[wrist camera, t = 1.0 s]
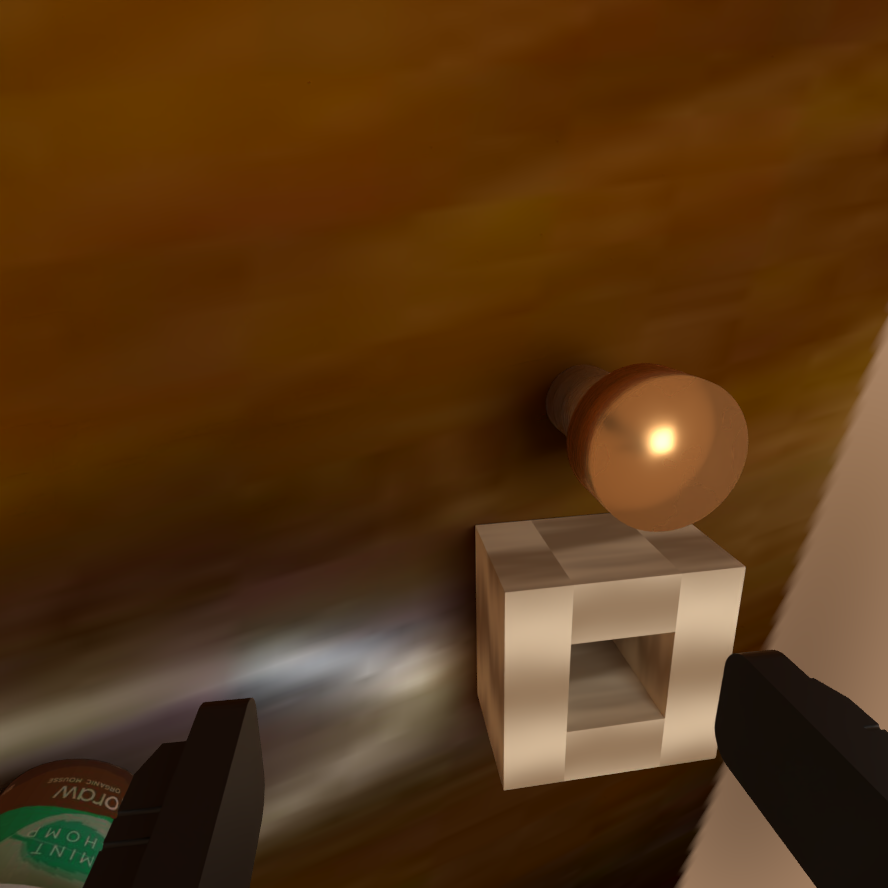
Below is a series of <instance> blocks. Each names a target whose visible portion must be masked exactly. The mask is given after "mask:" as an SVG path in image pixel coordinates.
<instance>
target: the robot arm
mask: <svg viewBox="0 0 888 888" xmlns="http://www.w3.org/2000/svg"><path fill="white" fill-rule="evenodd" d="M714 728H715V738H716V742H717V746H718V749H719V752H720V754H721V756H722V758H723V760H724V762H725V763H726V765H727V766H728V768H729V769H730V771H731V772H732V773H733V775H734V776H735V777H736V779H737V780H738V781H739V783H740V784H741V786H742V787H743V788H744V789H745V791H746V792H747V794H748V795H749V796H750V797H751V799H752V800H753V802H754V803H755V805H756V806H757V807H758V809H759V810H760V811H761V813H762V814H763V815H764V817H765V818H766V819H767V821H768V822H769V823H770V825H771V826H772V828H773V829H774V830H775V832H776V833H777V834H778V836H779V837H780V838H781V840H782V841H783V842H784V844H785V845H786V846H787V848H788V849H789V851H790V852H791V853H792V854H793V856H794V857H795V859H796V860H797V861H798V863H799V864H800V866H801V867H802V868H803V870H804V871H805V872H806V874H807V875H808V876H809V877H810V879H811V880H812V882H813V883H814V885H815V886H816V887H817V888H888V732H887V731H886V730H881V729H880V728H879V724H878V723H877V722H875V721H874V720H873V719H872V718H871V717H870V716H869V715H867V714H866V713H865V712H864V711H863V710H862V709H861V708H859V707H858V706H857V705H856V704H855V703H854V702H852V701H851V700H850V699H849V698H847V697H846V696H844V695H842V694H840V693H839V692H837V691H835V690H833V689H832V688H830V687H828V686H826V685H825V684H823V683H821V682H819V681H818V680H816V679H814V678H809V677H808V676H807V675H806V674H805V673H804V672H803V671H802V670H800V669H799V668H798V667H797V666H796V665H795V664H794V663H793V662H792V661H791V660H790V659H788V658H787V657H786V656H785V655H784V654H782V653H781V652H779V651H776V650H765V651H755V652H745V653H734V654H731V655H730V656H729V657H728V658H727V660H726V662H725V666H724V672H723V678H722V684H721V689H720V695H719V701H718V707H717V713H716V718H715V726H714ZM263 806H264V769H263V760H262V752H261V744H260V735H259V727H258V718H257V710H256V704H255V701H254V699H253V698H245V699H234V700H224V701H213V702H204V703H203V704H202V705H201V706H200V708H199V710H198V712H197V715H196V718H195V720H194V723H193V725H192V728H191V731H190V733H189V736H188V739H187V741H183V742H173V743H164V744H162V745H161V746H160V747H159V748H158V749H157V750H156V751H155V752H154V753H153V755H152V756H151V757H150V758H149V759H148V760H147V761H146V762H145V763H144V764H143V766H142V767H141V768H140V769H139V770H138V771H137V772H136V773H135V774H134V776H133V778H132V780H131V783H130V785H129V787H128V789H127V791H126V793H125V796H124V798H123V800H122V802H121V804H120V807H119V809H118V811H117V812H118V814H117V818H115V819H114V820H113V822H112V824H111V826H110V828H109V831H108V833H107V835H106V837H105V839H104V842H103V848H102V851H99V853H98V855H97V857H96V859H95V861H94V863H93V866H92V868H91V870H90V872H89V874H88V877H87V879H86V881H85V883H84V885H83V888H249V886H250V881H251V876H252V870H253V865H254V859H255V854H256V849H257V843H258V838H259V832H260V827H261V822H262V815H263Z"/></svg>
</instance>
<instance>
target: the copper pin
mask: <svg viewBox="0 0 888 888" xmlns="http://www.w3.org/2000/svg"><path fill="white" fill-rule="evenodd" d="M546 411H547V415H548V417H549V419H550V421H551V423H552V424H553V425H554V426H555V427H556V428H557V429H558V430H559V431H561V432H562V433H563V434H564V435H565V436H566V437H567V455H568V460H569V463H570V466H571V468H572V470H573V472H574V474H575V476H576V477H577V479H578V480H579V482H580V483H581V484H582V485H583V486H584V487H585V488H586V489H587V490H588V491H589V492H590V493H591V494H592V495H593V496H594V497H595V498H596V499H597V500H598V501H599V502H600V503H601V504H602V505H603V506H604V507H605V508H606V509H607V510H608V511H609V512H610V513H611V514H612V515H613V516H614V517H615V518H617V519H618V520H619V521H621V522H622V523H624V524H626V525H628V526H630V527H633V528H635V529H639V530H643V531H650V532H665V531H671V530H676V529H680V528H683V527H686V526H688V525H691V524H693V523H695V522H697V521H698V520H700V519H702V518H704V517H705V516H706V515H708V514H709V513H711V512H712V511H713V510H714V509H715V508H717V507H718V506H719V505H720V504H721V503H722V502H723V501H724V500H725V498H726V497H727V496H728V495H729V493H730V492H731V491H732V489H733V488H734V486H735V484H736V483H737V481H738V479H739V477H740V475H741V473H742V470H743V467H744V464H745V461H746V456H747V450H748V431H747V425H746V421H745V418H744V415H743V413H742V411H741V409H740V407H739V405H738V404H737V402H736V401H735V400H734V398H733V397H732V396H731V395H730V394H729V393H728V392H727V391H725V390H724V389H722V388H721V387H720V386H718V385H716V384H714V383H712V382H710V381H707V380H704V379H701V378H698V377H695V376H692V375H689V374H686V373H683V372H681V371H678V370H675V369H672V368H669V367H666V366H662V365H658V364H652V363H641V364H633V365H629V366H625V367H622V368H620V369H617V370H615V371H613V372H611V373H609V372H607V371H605V370H602V369H600V368H598V367H595V366H592V365H577V366H573V367H570V368H568V369H566V370H565V371H563V372H562V373H560V374H559V375H558V376H557V377H556V378H555V380H554V381H553V382H552V384H551V386H550V388H549V390H548V393H547V396H546Z"/></svg>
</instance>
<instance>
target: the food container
mask: <svg viewBox="0 0 888 888" xmlns="http://www.w3.org/2000/svg"><path fill="white" fill-rule="evenodd" d="M133 776H134V775H133V774H131V773H130V772H129V771H127V770H125V769H123V768H120V767H118V766H115V765H112V764H110V763H106V762H102V761H97V760H89V759H66V760H59V761H54V762H50V763H46V764H42V765H40V766H38V767H35V768H33V769H30V770H29V771H27V772H25V773H24V774H22V775H20V776H19V777H18V778H16V779H15V780H14V781H13V782H11V783H10V785H9V786H8V787H7V788H6V789H5V790H4V791H3V793H2V794H1V795H0V888H83V885H84V883H85V881H86V879H87V877H88V874H89V872H90V870H91V868H92V866H93V863H94V861H95V859H96V857H97V855H98V853H99V851H102V848H103V842H104V839H105V837H106V835H107V833H108V831H109V828H110V826H111V824H112V822H113V820H114V819H115V818H117V814H118V812H117V811H118V809H119V807H120V804H121V802H122V800H123V798H124V796H125V793H126V791H127V789H128V787H129V785H130V783H131V780H132V778H133Z"/></svg>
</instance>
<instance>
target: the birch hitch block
mask: <svg viewBox="0 0 888 888" xmlns="http://www.w3.org/2000/svg"><path fill="white" fill-rule="evenodd" d="M475 543H476V627H477V695H478V698H479V702H480V706H481V709H482V713H483V717H484V720H485V724H486V728H487V731H488V735H489V738H490V742H491V746H492V749H493V753H494V757H495V760H496V764H497V768H498V771H499V775H500V779H501V782H502V786H503V790H509V789H516V788H522V787H529V786H536V785H542V784H549V783H555V782H562V781H568V780H575V779H581V778H588V777H594V776H601V775H607V774H614V773H620V772H627V771H634V770H640V769H647V768H653V767H660V766H666V765H673V764H679V763H686V762H692V761H699V760H705V759H712V758H716V751H717V742H716V738H715V728H714V726H715V718H716V713H717V707H718V701H719V695H720V689H721V684H722V678H723V672H724V666H725V662H726V660H727V658H728V657H729V656H730V655H731V654H732V650H733V644H734V637H735V631H736V625H737V618H738V612H739V606H740V600H741V593H742V587H743V581H744V574H745V568H746V567H745V566H744V565H743V564H742V563H740V562H739V561H738V560H736V559H735V558H734V557H733V556H731V555H730V554H729V553H728V552H726V551H725V550H724V549H723V548H721V547H720V546H719V545H717V544H716V543H715V542H714V541H712V540H711V539H710V538H709V537H707V536H706V535H705V534H703V533H702V532H701V531H700V530H698V529H697V528H696V527H695V526H693V525H692V524H691V525H688V526H686V527H683V528H680V529H676V530H671V531H665V532H650V531H643V530H639V529H635V528H633V527H630V526H628V525H626V524H624V523H622V522H621V521H619V520H618V519H617V518H615V517H614V516H613V515H612V514H611V513H605V514H594V515H583V516H572V517H561V518H550V519H539V520H528V521H517V522H506V523H495V524H484V525H475Z"/></svg>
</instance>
